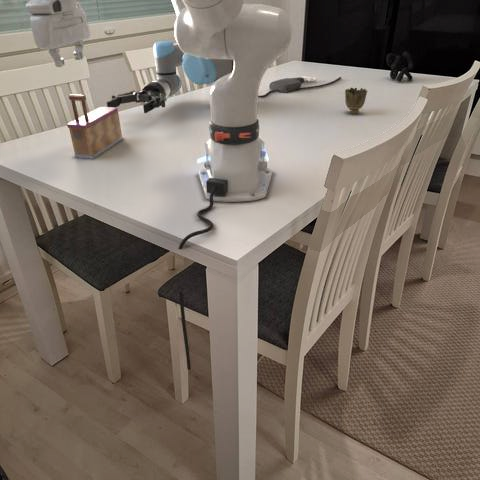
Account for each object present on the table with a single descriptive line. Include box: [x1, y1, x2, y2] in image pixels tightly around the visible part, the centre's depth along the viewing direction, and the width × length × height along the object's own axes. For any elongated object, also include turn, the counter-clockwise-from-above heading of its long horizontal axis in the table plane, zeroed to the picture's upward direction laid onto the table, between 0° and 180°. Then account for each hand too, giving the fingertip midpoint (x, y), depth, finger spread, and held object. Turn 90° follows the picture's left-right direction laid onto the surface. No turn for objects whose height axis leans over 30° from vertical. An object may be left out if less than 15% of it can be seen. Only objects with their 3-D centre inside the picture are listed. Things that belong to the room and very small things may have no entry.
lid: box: [66, 93, 119, 129], centre depth 126 cm, size 18×6×8 cm, turn 164°
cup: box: [344, 87, 368, 115], centre depth 156 cm, size 8×7×8 cm
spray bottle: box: [268, 75, 317, 93], centre depth 194 cm, size 3×11×24 cm
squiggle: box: [385, 51, 414, 83], centre depth 198 cm, size 11×10×15 cm
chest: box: [68, 110, 124, 160], centre depth 131 cm, size 17×6×9 cm, turn 164°
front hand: (70, 62), depth 115 cm, fingers open, 8 cm apart
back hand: (126, 107), depth 146 cm, fingers open, 13 cm apart
